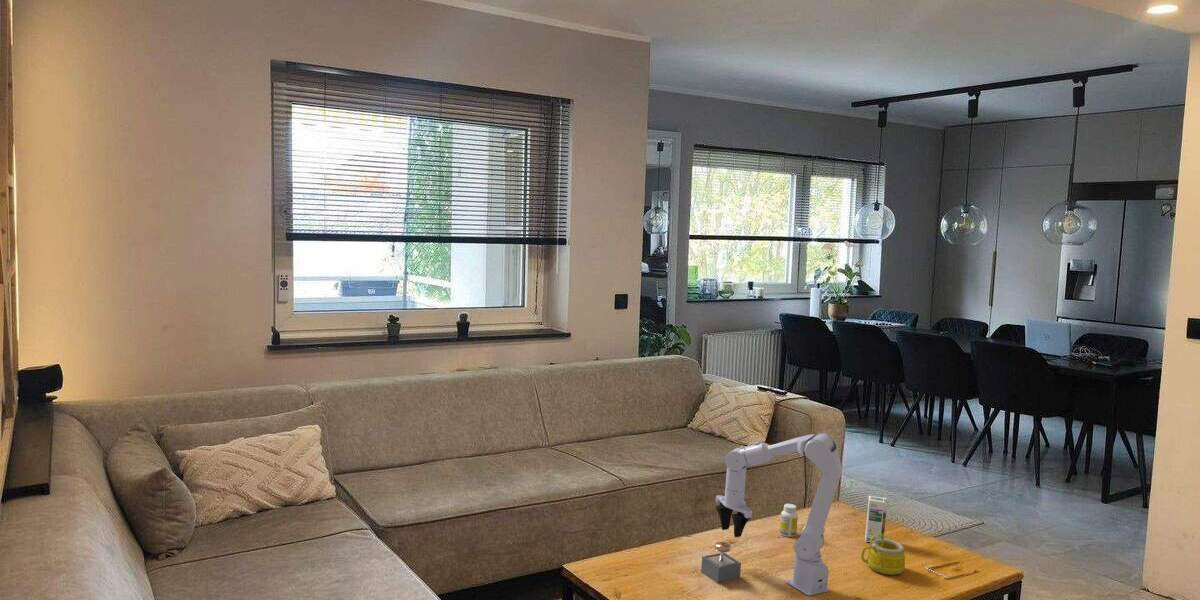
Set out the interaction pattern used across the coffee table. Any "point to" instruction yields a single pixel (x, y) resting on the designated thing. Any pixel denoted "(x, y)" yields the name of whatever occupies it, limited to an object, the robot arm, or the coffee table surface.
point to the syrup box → (876, 517)
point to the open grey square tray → (720, 569)
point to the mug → (885, 556)
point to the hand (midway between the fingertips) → (731, 532)
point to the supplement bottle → (788, 521)
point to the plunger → (721, 554)
